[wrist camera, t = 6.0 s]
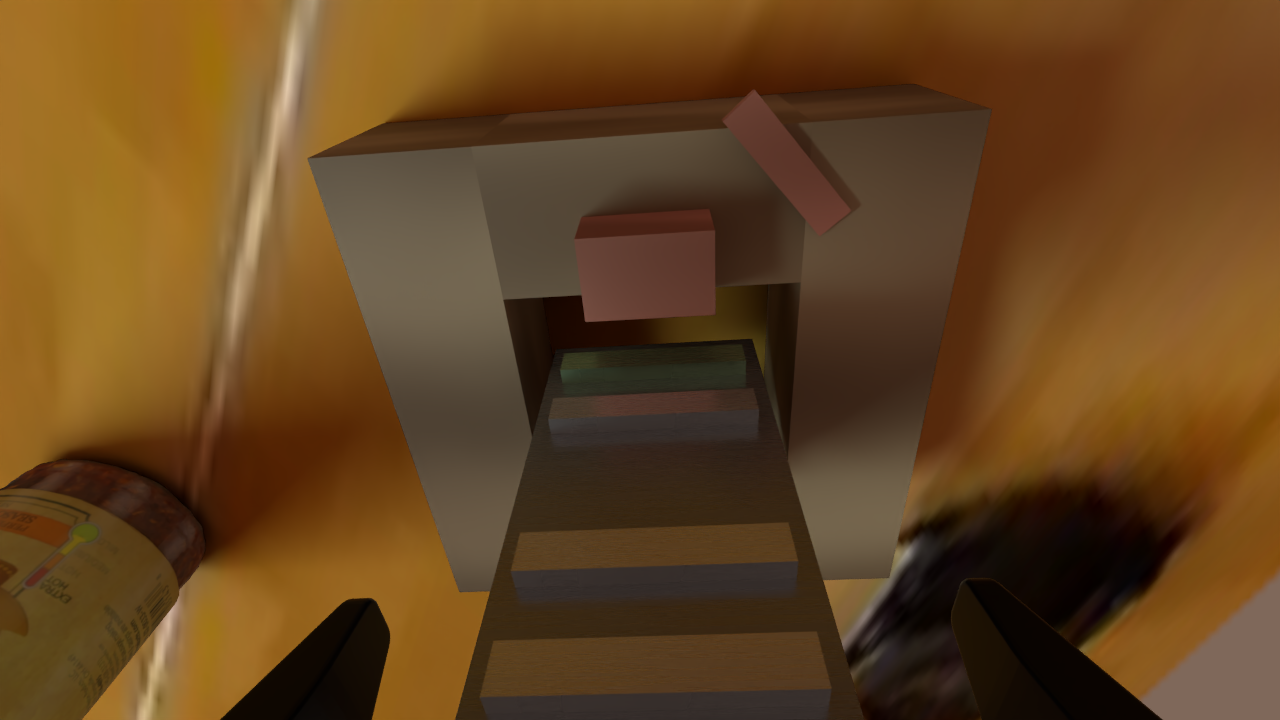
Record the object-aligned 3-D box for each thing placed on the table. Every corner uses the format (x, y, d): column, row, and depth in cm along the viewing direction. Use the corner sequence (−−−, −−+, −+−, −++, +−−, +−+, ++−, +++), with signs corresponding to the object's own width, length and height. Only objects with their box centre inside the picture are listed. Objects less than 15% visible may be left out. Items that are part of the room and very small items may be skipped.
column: (747, 495, 14) (835, 953, 7) (581, 501, 14) (519, 953, 8) (752, 325, 12) (888, 769, 5) (553, 336, 12) (427, 776, 5)
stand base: (852, 488, 19) (905, 617, 15) (488, 503, 20) (447, 630, 16) (918, 53, 13) (1041, 78, 9) (375, 95, 13) (255, 136, 9)
